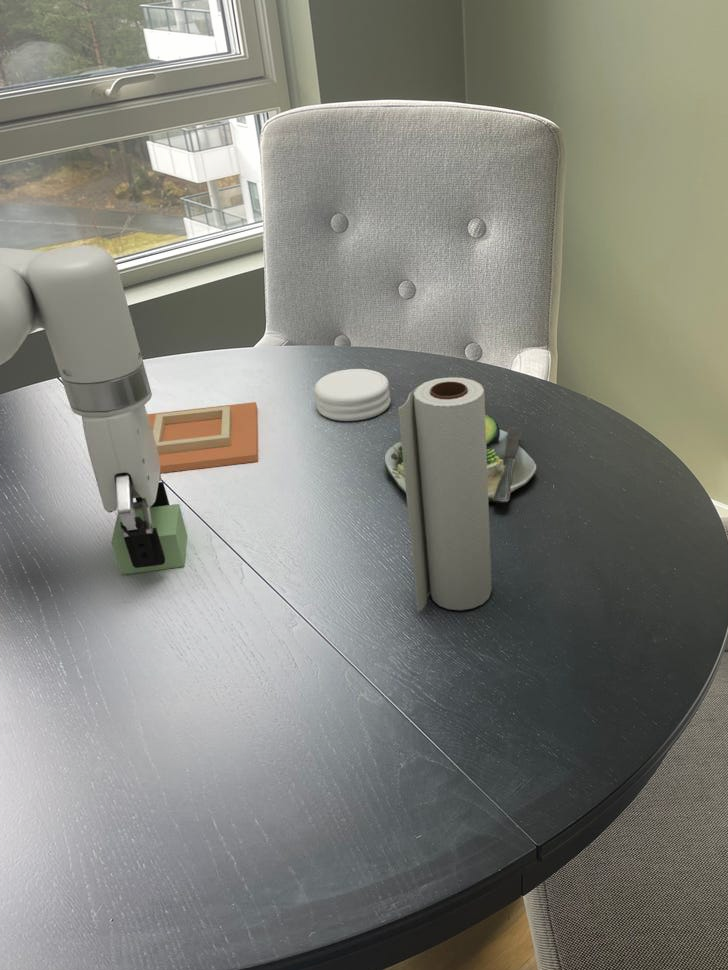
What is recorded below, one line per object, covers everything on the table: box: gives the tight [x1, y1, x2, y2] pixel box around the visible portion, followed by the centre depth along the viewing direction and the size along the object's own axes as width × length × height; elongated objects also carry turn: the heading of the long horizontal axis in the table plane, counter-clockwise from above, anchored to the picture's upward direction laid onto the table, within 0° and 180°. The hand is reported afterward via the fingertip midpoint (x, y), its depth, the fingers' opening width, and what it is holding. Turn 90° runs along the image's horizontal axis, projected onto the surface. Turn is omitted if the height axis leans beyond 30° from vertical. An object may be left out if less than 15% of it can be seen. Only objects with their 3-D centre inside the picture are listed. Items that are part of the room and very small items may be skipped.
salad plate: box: [383, 413, 537, 504], centre depth 113 cm, size 19×18×5 cm
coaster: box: [313, 368, 391, 422], centre depth 130 cm, size 10×10×4 cm
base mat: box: [147, 401, 259, 474], centre depth 124 cm, size 16×16×2 cm
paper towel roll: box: [397, 376, 493, 613], centre depth 89 cm, size 7×6×21 cm
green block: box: [111, 503, 188, 576], centre depth 102 cm, size 6×6×4 cm
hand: (153, 540), depth 102 cm, fingers open, 9 cm apart
